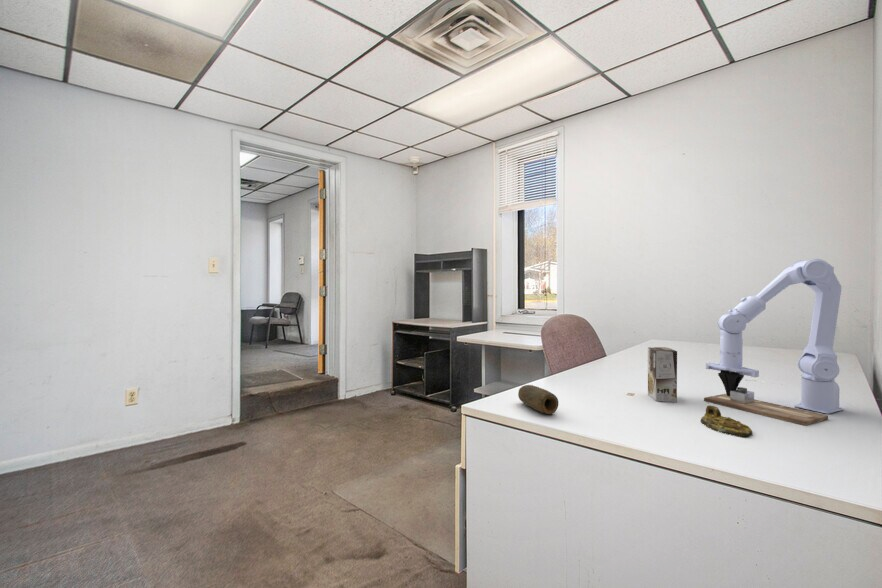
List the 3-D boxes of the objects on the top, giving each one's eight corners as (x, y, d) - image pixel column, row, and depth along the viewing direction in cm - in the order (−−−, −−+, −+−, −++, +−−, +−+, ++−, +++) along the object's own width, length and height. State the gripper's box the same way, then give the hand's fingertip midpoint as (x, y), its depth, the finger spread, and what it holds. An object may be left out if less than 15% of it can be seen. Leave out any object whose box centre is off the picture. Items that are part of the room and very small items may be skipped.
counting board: (726, 396, 135) (727, 393, 135) (828, 419, 111) (828, 415, 111) (704, 400, 130) (704, 397, 130) (804, 425, 106) (805, 421, 106)
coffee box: (677, 402, 128) (678, 351, 128) (655, 401, 129) (655, 350, 129) (667, 395, 137) (668, 346, 137) (647, 394, 138) (647, 346, 138)
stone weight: (563, 415, 116) (563, 391, 116) (542, 418, 114) (542, 394, 114) (533, 401, 130) (533, 380, 130) (514, 403, 128) (514, 382, 128)
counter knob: (739, 398, 128) (739, 385, 128) (754, 401, 124) (754, 388, 124) (730, 400, 126) (730, 387, 126) (744, 403, 122) (744, 390, 122)
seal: (766, 443, 98) (720, 421, 113) (769, 423, 98) (722, 404, 113) (729, 439, 98) (688, 418, 113) (732, 419, 98) (690, 401, 113)
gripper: (699, 350, 133) (699, 391, 133) (749, 357, 120) (748, 403, 120) (713, 348, 136) (713, 389, 136) (763, 355, 123) (762, 400, 123)
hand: (730, 395), depth 128 cm, fingers closed
